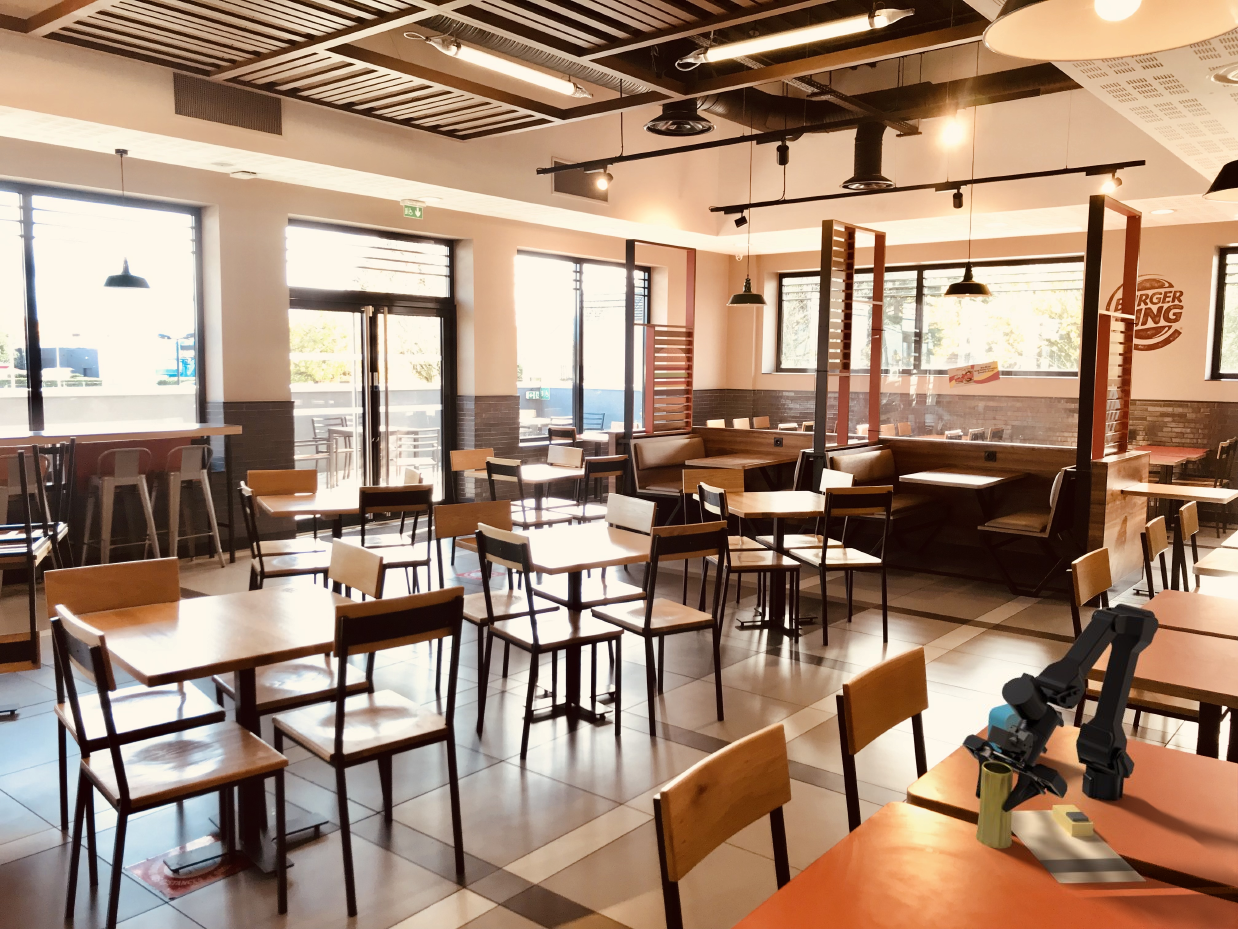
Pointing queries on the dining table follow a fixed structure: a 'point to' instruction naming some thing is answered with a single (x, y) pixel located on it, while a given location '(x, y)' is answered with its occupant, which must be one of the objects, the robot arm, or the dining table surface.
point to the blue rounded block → (1002, 719)
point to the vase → (995, 805)
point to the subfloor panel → (1070, 851)
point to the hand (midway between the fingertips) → (990, 804)
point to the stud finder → (1073, 820)
